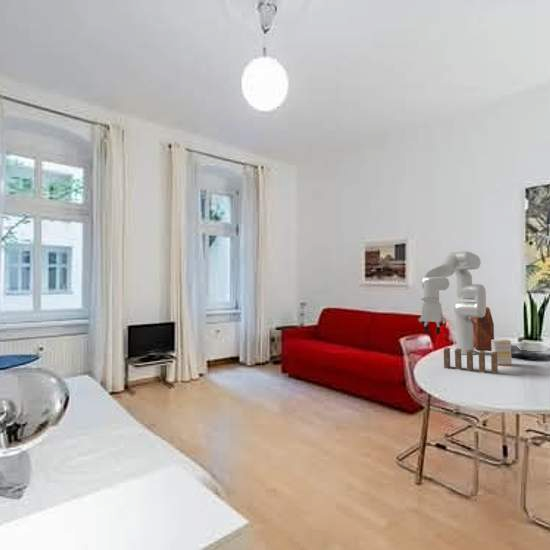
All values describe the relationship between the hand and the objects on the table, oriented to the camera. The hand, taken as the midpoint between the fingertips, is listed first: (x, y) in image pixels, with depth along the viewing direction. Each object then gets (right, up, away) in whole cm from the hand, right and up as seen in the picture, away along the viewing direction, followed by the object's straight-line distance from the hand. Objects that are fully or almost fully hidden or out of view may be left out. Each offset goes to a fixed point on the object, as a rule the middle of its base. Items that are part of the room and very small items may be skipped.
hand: (432, 333), depth 209 cm
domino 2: (+11, -17, -8) cm, 21 cm away
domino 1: (+6, -17, -4) cm, 19 cm away
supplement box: (+37, -17, -1) cm, 40 cm away
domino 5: (+24, -17, -17) cm, 34 cm away
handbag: (+51, -16, +45) cm, 69 cm away
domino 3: (+15, -17, -11) cm, 25 cm away
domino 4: (+19, -17, -14) cm, 29 cm away
